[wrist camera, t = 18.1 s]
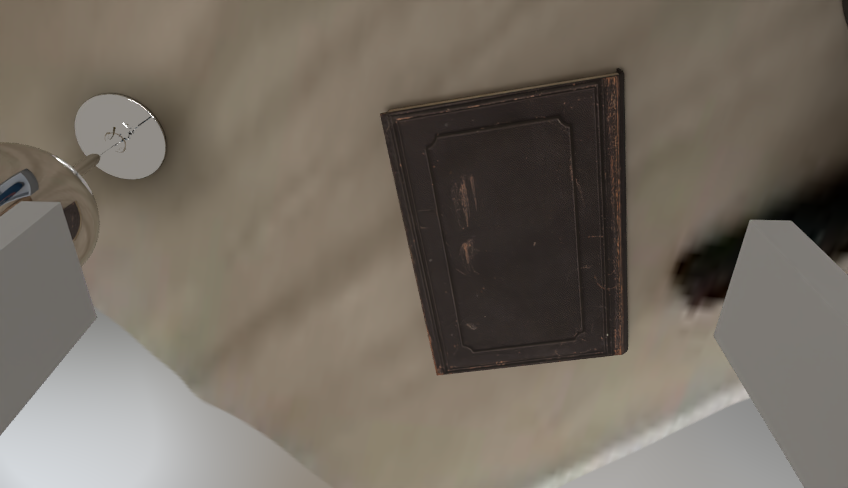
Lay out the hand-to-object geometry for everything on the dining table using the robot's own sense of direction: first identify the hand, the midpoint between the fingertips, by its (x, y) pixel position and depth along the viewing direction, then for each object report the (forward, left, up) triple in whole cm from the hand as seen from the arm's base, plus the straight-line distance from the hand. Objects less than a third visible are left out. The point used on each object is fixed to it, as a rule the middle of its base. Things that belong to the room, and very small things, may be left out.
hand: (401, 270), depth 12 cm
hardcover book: (-7, +16, -31) cm, 36 cm away
